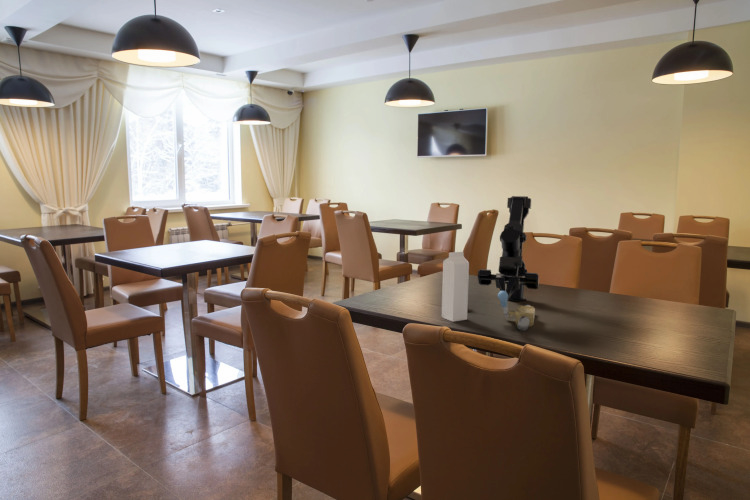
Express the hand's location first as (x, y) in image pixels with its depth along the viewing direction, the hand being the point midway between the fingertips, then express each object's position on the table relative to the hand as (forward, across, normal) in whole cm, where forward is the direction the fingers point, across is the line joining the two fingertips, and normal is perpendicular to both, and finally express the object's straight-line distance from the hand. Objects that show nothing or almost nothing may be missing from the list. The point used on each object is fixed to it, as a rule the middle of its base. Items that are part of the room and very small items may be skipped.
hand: (505, 301), depth 156 cm
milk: (+5, -16, +6) cm, 18 cm away
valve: (+1, +5, +10) cm, 11 cm away
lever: (-1, 0, +9) cm, 9 cm away
